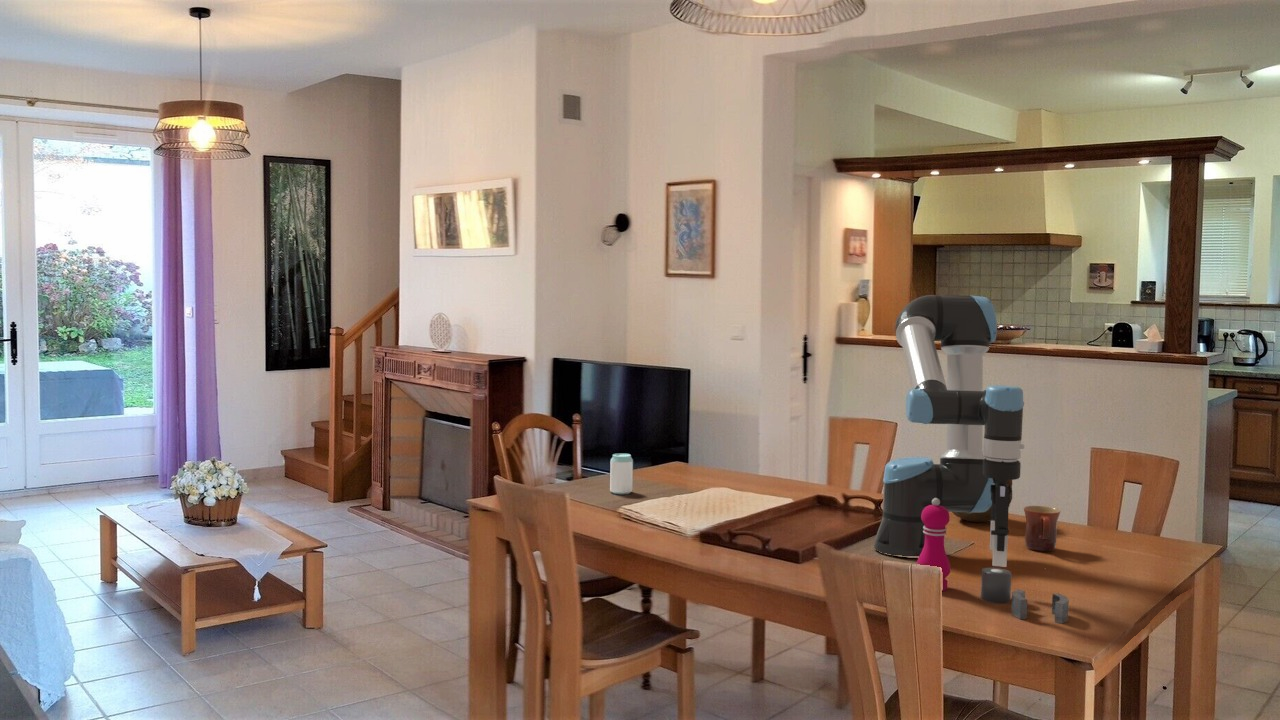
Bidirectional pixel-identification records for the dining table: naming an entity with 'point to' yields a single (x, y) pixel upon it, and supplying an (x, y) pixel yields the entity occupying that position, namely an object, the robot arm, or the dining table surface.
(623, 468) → the can
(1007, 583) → the cap
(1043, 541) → the mug
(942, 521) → the pepper mill
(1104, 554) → the dining table surface
